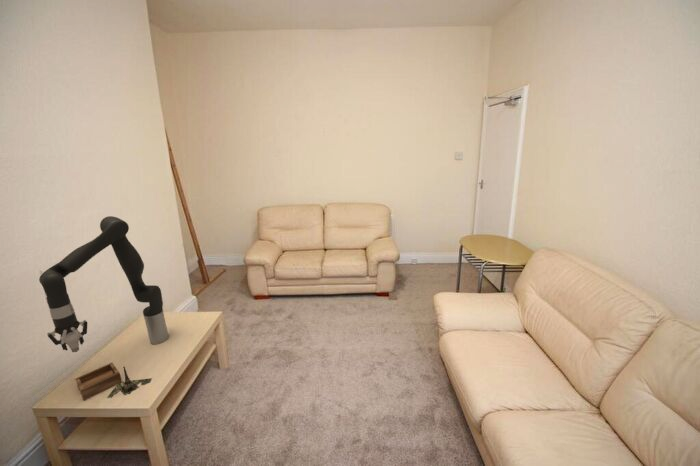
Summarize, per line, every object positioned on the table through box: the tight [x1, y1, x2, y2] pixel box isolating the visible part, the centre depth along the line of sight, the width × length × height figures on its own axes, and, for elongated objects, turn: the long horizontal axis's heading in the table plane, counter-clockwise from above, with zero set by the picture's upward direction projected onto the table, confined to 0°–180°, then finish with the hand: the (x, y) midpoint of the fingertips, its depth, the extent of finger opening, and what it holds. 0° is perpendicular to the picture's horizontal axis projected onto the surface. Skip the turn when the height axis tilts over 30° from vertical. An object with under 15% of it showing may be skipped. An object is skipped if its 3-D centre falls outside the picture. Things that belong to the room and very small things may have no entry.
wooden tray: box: [75, 362, 123, 401], centre depth 142 cm, size 12×14×5 cm
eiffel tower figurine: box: [106, 364, 153, 399], centre depth 139 cm, size 15×10×13 cm
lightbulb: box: [64, 332, 80, 353], centre depth 141 cm, size 6×6×11 cm
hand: (74, 346), depth 141 cm, fingers closed on lightbulb, 4 cm apart
